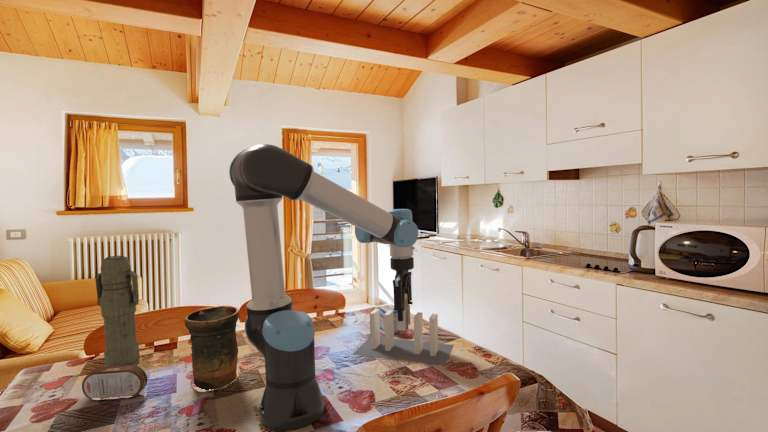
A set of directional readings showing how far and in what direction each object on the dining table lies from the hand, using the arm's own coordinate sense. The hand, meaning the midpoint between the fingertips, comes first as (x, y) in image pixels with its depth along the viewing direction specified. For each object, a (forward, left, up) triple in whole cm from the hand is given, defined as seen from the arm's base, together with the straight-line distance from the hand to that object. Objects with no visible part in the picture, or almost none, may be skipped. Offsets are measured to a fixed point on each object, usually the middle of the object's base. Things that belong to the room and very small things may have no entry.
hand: (404, 326), depth 130 cm
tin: (-50, +65, -8) cm, 82 cm away
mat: (0, 0, -8) cm, 8 cm away
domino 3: (0, -5, -8) cm, 9 cm away
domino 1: (0, +10, -8) cm, 13 cm away
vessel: (-34, +46, -8) cm, 58 cm away
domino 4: (0, -10, -8) cm, 12 cm away
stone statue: (-36, +80, -8) cm, 88 cm away
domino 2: (0, +5, -8) cm, 9 cm away
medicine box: (+16, +11, -8) cm, 21 cm away
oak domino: (0, 0, -1) cm, 1 cm away
